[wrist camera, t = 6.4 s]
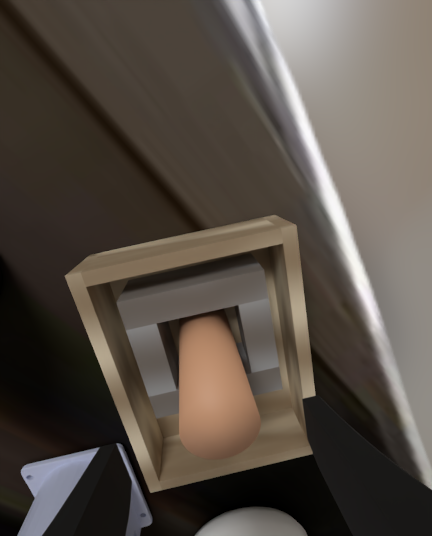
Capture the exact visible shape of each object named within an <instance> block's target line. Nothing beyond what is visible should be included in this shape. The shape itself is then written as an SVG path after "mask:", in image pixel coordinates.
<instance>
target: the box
mask: <svg viewBox="0 0 432 536" xmlns="http://www.w3.org/2000/svg"><path fill="white" fill-rule="evenodd" d="M65 278H66V280H67V283H68V286H69V288H70V291H71V293H72V296H73V298H74V301H75V303H76V306H77V308H78V311H79V313H80V316H81V318H82V321H83V323H84V326H85V329H86V331H87V334H88V336H89V339H90V341H91V344H92V346H93V349H94V351H95V354H96V356H97V359H98V361H99V364H100V366H101V369H102V371H103V374H104V377H105V379H106V382H107V384H108V387H109V389H110V392H111V394H112V397H113V399H114V402H115V404H116V407H117V409H118V412H119V414H120V417H121V419H122V422H123V425H124V427H125V430H126V432H127V435H128V437H129V440H130V442H131V445H132V447H133V450H134V452H135V455H136V457H137V460H138V462H139V465H140V468H141V470H142V473H143V475H144V478H145V480H146V483H147V485H148V488H149V490H150V493H152V492H156V491H160V490H164V489H168V488H173V487H177V486H181V485H185V484H189V483H193V482H198V481H202V480H206V479H210V478H214V477H218V476H223V475H227V474H231V473H235V472H239V471H243V470H248V469H252V468H256V467H260V466H264V465H268V464H272V463H277V462H281V461H285V460H289V459H293V458H297V457H302V456H306V455H310V454H313V452H312V449H311V447H310V444H309V442H308V439H307V432H306V424H305V417H304V409H303V402H302V399H304V398H308V397H312V396H315V387H314V378H313V369H312V360H311V351H310V342H309V334H308V325H307V316H306V307H305V298H304V289H303V280H302V271H301V262H300V253H299V244H298V235H297V226H296V225H295V224H293V223H291V222H289V221H286V220H284V219H282V218H280V217H278V216H276V215H271V216H266V217H262V218H257V219H253V220H248V221H243V222H239V223H234V224H230V225H225V226H221V227H216V228H211V229H207V230H202V231H198V232H193V233H188V234H184V235H179V236H175V237H170V238H166V239H161V240H156V241H152V242H147V243H143V244H138V245H133V246H129V247H124V248H120V249H115V250H111V251H106V252H101V253H97V254H92V255H89V256H88V257H87V258H86V259H85V260H83V261H82V262H81V263H80V264H79V265H77V266H76V267H75V268H74V269H73V270H71V271H70V272H69V273H68V274H67V275H65ZM223 308H224V310H225V313H226V316H227V319H228V322H229V325H230V328H231V331H232V334H233V337H234V340H235V343H236V346H237V349H238V352H239V355H240V358H241V361H242V364H243V367H244V370H245V373H246V376H247V379H248V382H249V385H250V388H251V391H252V394H253V397H254V400H255V403H256V406H257V409H258V412H259V415H260V419H261V427H260V431H259V434H258V436H257V438H256V439H255V441H254V442H253V443H252V444H251V445H250V446H249V447H248V448H247V449H246V450H244V451H243V452H241V453H239V454H237V455H235V456H232V457H229V458H225V459H217V460H212V459H205V458H201V457H198V456H196V455H194V454H192V453H191V452H189V451H188V450H187V449H186V448H185V447H184V445H183V444H182V442H181V439H180V435H179V318H183V317H188V316H192V315H197V314H201V313H205V312H210V311H214V310H219V309H223Z"/></svg>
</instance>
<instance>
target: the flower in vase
mask: <svg viewBox="0 0 432 536" xmlns="http://www.w3.org/2000/svg"><path fill="white" fill-rule="evenodd" d="M195 536H307V533H306V531H305V530H304V528H303V527H302V526H301V525H300V524H299V523H298V522H297V521H296V520H295V519H294V518H293V517H291V516H290V515H288V514H287V513H285V512H283V511H280V510H277V509H273V508H269V507H245V508H239V509H235V510H232V511H229V512H226V513H223V514H221V515H219V516H217V517H215V518H213V519H212V520H210V521H209V522H207V523H206V524H205V525H204V526H203V527H201V528H200V529H199V531H198V532H197V533H196V534H195Z"/></svg>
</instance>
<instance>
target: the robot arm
mask: <svg viewBox="0 0 432 536" xmlns="http://www.w3.org/2000/svg"><path fill="white" fill-rule="evenodd" d="M302 402H303V409H304V417H305V424H306V432H307V439H308V442H309V444H310V447H311V449H312V452H313V455H314V457H315V460H316V462H317V465H318V467H319V469H320V471H321V473H322V475H323V477H324V479H325V481H326V483H327V485H328V487H329V489H330V491H331V493H332V495H333V497H334V499H335V501H336V503H337V505H338V507H339V509H340V511H341V513H342V515H343V517H344V519H345V521H346V523H347V525H348V527H349V529H350V530H351V532H352V534H353V536H432V490H431V489H430V488H428V487H427V486H425V485H424V484H422V483H421V482H420V481H418V480H417V479H415V478H414V477H412V476H411V475H410V474H408V473H407V472H406V471H404V470H403V469H402V468H400V467H399V466H398V465H396V464H395V463H394V462H392V461H391V460H390V459H389V458H387V457H386V456H385V455H384V454H382V453H381V452H380V451H379V450H377V449H376V448H375V447H374V446H373V445H371V444H370V443H369V442H368V441H367V440H366V439H364V438H363V437H362V436H361V435H360V434H359V433H358V432H356V431H355V430H354V429H353V428H352V427H351V426H350V425H349V424H348V423H346V422H345V421H344V420H343V419H342V418H341V417H340V416H339V415H338V414H337V413H336V412H335V411H334V410H333V409H332V408H331V407H330V406H329V405H328V404H327V403H326V402H325V401H324V400H323V399H322V398H321V397H320V396H318V395H317V396H312V397H308V398H304V399H302ZM21 475H22V476H23V478H24V480H25V482H26V483H27V485H28V487H29V488H30V490H31V492H32V493H33V495H34V497H35V499H34V501H33V504H32V506H31V508H30V510H29V512H28V514H27V516H26V519H25V521H24V523H23V525H22V527H21V529H20V531H19V533H18V536H140V532H141V528H142V527H146V526H149V525H150V524H151V523H152V515H151V513H150V510H149V508H148V505H147V503H146V501H145V498H144V496H143V493H142V491H141V488H140V486H139V483H138V481H137V479H136V476H135V474H134V471H133V469H132V466H131V464H130V461H129V459H128V457H127V454H126V452H125V449H124V447H123V445H121V444H119V443H114V444H110V445H106V446H102V447H99V448H95V449H90V450H86V451H82V452H78V453H73V454H69V455H65V456H61V457H56V458H52V459H48V460H44V461H39V462H35V463H31V464H27V465H25V466H24V467H23V468H22V470H21Z"/></svg>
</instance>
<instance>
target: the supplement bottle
mask: <svg viewBox="0 0 432 536" xmlns="http://www.w3.org/2000/svg"><path fill="white" fill-rule="evenodd" d="M2 285H3V275H2V270H1V266H0V294H1V291H2Z"/></svg>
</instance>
